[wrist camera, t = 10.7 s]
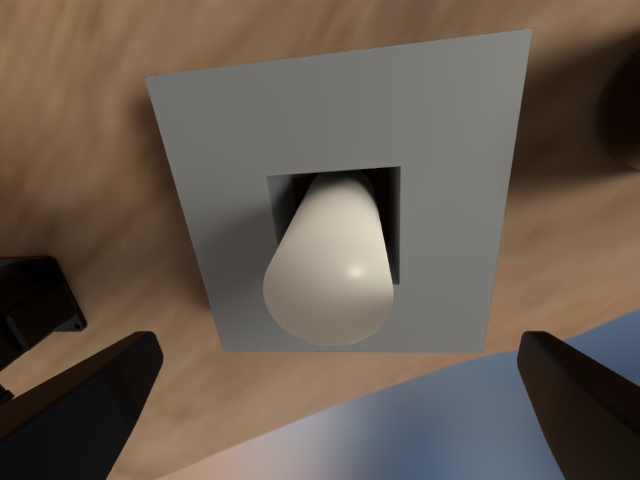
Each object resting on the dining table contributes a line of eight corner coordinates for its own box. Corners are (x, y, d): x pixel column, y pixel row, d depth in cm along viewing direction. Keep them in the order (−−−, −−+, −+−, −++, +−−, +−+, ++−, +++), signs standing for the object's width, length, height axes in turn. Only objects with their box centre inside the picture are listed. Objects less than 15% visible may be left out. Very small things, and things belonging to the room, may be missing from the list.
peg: (311, 231, 20) (273, 346, 11) (303, 167, 18) (252, 239, 9) (375, 228, 19) (393, 346, 10) (374, 162, 18) (394, 232, 8)
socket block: (250, 300, 22) (223, 351, 18) (201, 82, 17) (144, 76, 12) (455, 296, 20) (483, 352, 16) (478, 49, 15) (532, 28, 10)
